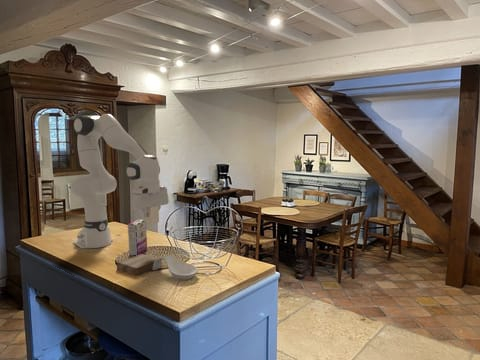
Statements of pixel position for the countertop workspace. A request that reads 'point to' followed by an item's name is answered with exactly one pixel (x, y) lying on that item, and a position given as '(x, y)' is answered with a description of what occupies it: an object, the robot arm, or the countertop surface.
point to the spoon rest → (177, 268)
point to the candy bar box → (137, 237)
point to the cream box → (152, 215)
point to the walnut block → (136, 264)
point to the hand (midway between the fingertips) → (151, 215)
